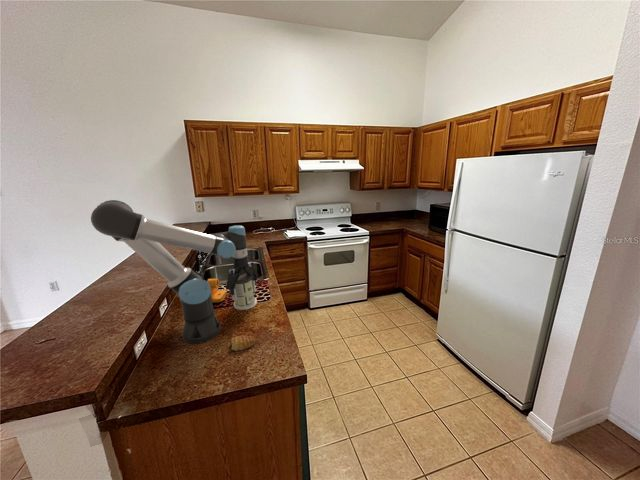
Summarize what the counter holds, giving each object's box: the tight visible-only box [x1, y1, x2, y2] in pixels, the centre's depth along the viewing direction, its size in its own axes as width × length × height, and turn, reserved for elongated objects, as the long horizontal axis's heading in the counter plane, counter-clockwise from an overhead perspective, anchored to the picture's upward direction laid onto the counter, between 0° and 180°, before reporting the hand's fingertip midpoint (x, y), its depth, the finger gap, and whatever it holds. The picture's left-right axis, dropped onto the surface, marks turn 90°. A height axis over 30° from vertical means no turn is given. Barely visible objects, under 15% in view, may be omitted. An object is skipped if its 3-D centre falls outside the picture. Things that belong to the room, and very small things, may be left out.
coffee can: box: [234, 273, 256, 307], centre depth 135 cm, size 10×10×14 cm
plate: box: [233, 297, 258, 311], centre depth 137 cm, size 12×12×1 cm
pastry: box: [231, 334, 256, 352], centre depth 105 cm, size 9×7×4 cm
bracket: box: [206, 278, 228, 303], centre depth 143 cm, size 11×7×12 cm, turn 2°
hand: (244, 295), depth 136 cm, fingers open, 11 cm apart
